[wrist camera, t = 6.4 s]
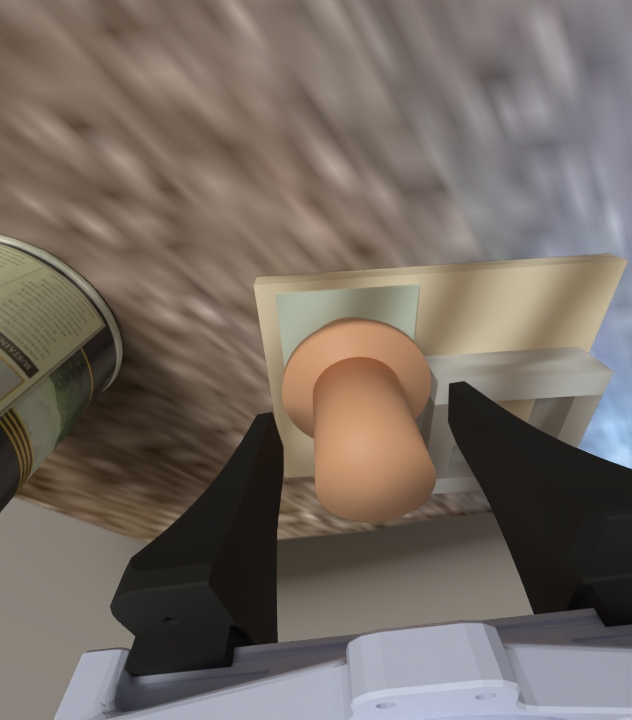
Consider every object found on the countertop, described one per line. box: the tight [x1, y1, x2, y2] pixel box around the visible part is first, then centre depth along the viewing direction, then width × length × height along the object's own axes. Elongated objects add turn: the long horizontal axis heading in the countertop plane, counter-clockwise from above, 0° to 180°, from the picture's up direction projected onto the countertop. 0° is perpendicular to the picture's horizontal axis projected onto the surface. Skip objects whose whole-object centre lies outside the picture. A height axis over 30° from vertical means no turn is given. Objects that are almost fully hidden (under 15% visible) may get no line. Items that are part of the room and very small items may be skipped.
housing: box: [254, 254, 628, 494], centre depth 19 cm, size 18×14×4 cm
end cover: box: [282, 317, 436, 522], centre depth 15 cm, size 7×7×8 cm
